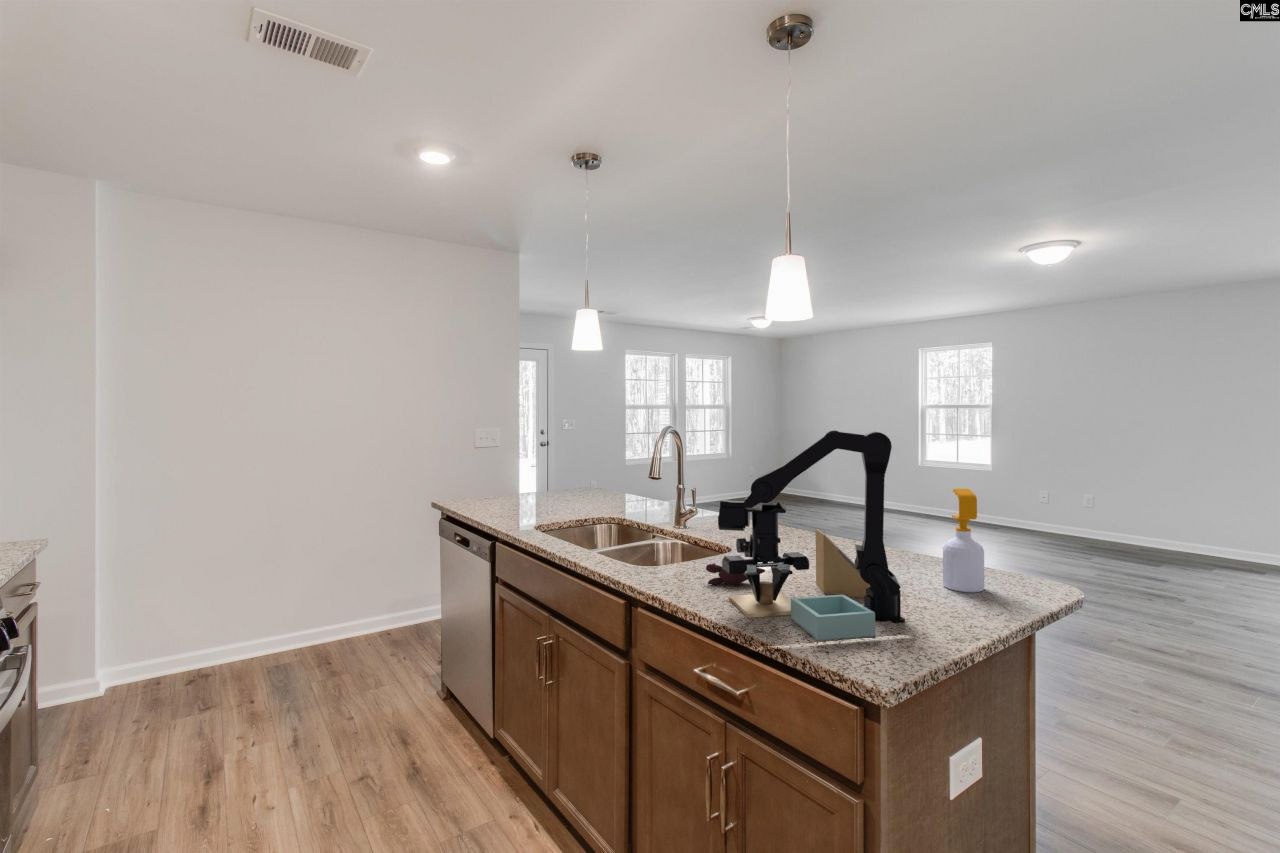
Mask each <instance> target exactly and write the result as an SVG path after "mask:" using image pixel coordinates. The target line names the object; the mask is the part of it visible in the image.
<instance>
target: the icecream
mask: <svg viewBox="0 0 1280 853" xmlns="http://www.w3.org/2000/svg"><path fill="white" fill-rule="evenodd" d="M705 570H706V571H707V572H709V573H711V574H717V573H718V577H713V578H711V579H709V580H708V581H707V585H708V584H712V585H711V586H719V585H718V584H721V585H722V584H723V583H724V584H725V583H726V585H728V586H731V585H737V586H739V585H740V586H741V585H742V583H743V582H745V581H748V578H747V577H746V576H745V575H744V574H729V573H728V572H727V571H725V570H724V569H723V568H722V565H718V564H716V563H709V564H707V565H706V566H705ZM765 572H766V569H765V568H762V567H757V573H759V574H760V575H761V574H763V573H765Z"/></svg>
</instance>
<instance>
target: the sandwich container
mask: <svg viewBox="0 0 1280 853" xmlns="http://www.w3.org/2000/svg"><path fill="white" fill-rule="evenodd" d="M815 585H816V586H817V587H818V588H819V590H820V591H821V592H822V593H823V594H827V595H829V594H831V595H832V594H833V595H845V596H847V597H864V595H866V588H869V587H870V584H868V583H866V582H865V581H864V580H863V579H862V578H861V576H860V572H859V569H858V570H857V569H856V566H855V562H853V560H852V559H851V558H850V557H849V556H847V554H845V552H844V551H843V550H842V549H841V548H840V547H839V546H838V545H837V544H836V543H835V542H834V541H833V540H832V539H831V538H830V537H829V536H827V535H826V534H825V533H824V532H823V531H821V530H820V529H818V528H815Z"/></svg>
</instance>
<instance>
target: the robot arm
mask: <svg viewBox="0 0 1280 853" xmlns="http://www.w3.org/2000/svg"><path fill="white" fill-rule="evenodd" d="M892 447H893V446H892V441H891V439H890V438H889V437H888V436H887V435H886V434H885V433H882V432H879V431H875V430H874V431H869V432H868V433H865V434H860V433H853V432H852V433H851V432H844V431H838V430H835V429H833V430H829V431H827V432H826V433H825V435H823V436H822V437H821V438H820V439H818V440H817V441H815V442H814V443H813V444H811V445H809V446H808V447H807V448H805V449H804V450H802V451H801V452H800V453H798V454H797V455H796V456H794V457H793V458H791V459H790V460H789V461H788V462H786V463H785V464H783V465H781V466H779V467H776V468H775V469H771V470H769V471H768V472H766V473H764V474H761V475H759V476H758V477H757V478H755V480H754V481H753V482H752V484H751V485H750V486H751V487H750V494H749V495H748V496H746V497H745V498H744V501H743V500H742V501H740V500H739V501H738V500H728V499H721V500H720V502H719V510H718V516H717V525H718V530H720V531H734V532H735V531H737V532H745V530H746V527H750V524H751V529H752V531H751V532H752V533H751V534H750V535H749V540H747V538H746V537H742V538H740V537H739V538H736V541H735V546H736V552H737V553H738V554H739V553H740V554H741V553H744V557H745V558H748V559H745V558H743V556H741V555H737V554H736V555H724V556H723V558H722V561H721V567H722V568H723V569H724V570H725V571H727V572H728V573H729V574H744V575H745V576H746V577H747V578H748V580H747V581H748V582H749V585H750V587H751V591H752V594H754V597H755V600H756V601H757V602H759V599H760V582H761V574H759V573H757V568H771V569H770V570H771V573H772V579H771V582H772V583H773V601H776V599H777V597H778V594H779V593H781V589H782V588H783V586H784V584H785V582H786V580H787V579H788V577H789V576H790V575H793V570H791V566H792V567H793V568H794V569H795V570H796V571H806V570H807V571H808V570H810V560H809V558H808V557H807V556H806V555H805V554H802V553H800V552H798V551H794V552H784V553H783V554H782V556H780V555H779V544H781V537H779V514H786V512H787V508H786V507H785V506H784V505H783V504H782V502H781V501H780V500H778V501H777V502H776V503H774V504H772V503H771V502H772V501H774V500H775V499H776V497H777V496H779V495H780V494H781V492H782V491H783V490H784V489H785V488H786V487H787V486H788V485H789V484H790V483H791V482H792V481H793V480H795V479H796V478H797V477H799V476H800V475H801V474H803V473H804V472H805V471H807V470H808V469H810V468H811V467H813V466H814V465H815V464H817V463H818V462H819V461H821V460H822V459H824V458H825V457H826V456H828V455H829V454H831V453H833V452H834V451H835V450H844V451H849V452H856V453H861V458H862V464H863V468H864V469H863V470H864V475H865V477H864V478H865V479H864V482H865V483H864V519H863V520H864V522H863V526H864V528H863V540H862V543H861V545H860V544H855V545H854V547H855V551H856V552H855V553H856V557H855V559H854V563H855V566H856V569H857V570H858V569H859V572H860V576H861V578H862V579H863V580H864V581H865V582H866V583H868V584H870V587H869V588H866V595H864V596H863V606H864V607H866V608H868V609H870V610H871V611H873V612H875V622H879V623H880V622H881V623H883V622H891V623H901V622H902V623H903V622H906V618H905V617H903V616H901V603H902V602H901V601H902V600H901V597H902V596H901V585H900V583H899V581H898V579H897V577H896V575H895V574H894V573H893V572H892V571H891V570H890V569H889V565H888V559H887V553H886V549H885V543H884V522H885V521H884V516H885V512H884V511H885V477H886V472H887V468H888V465H889V461H890V458H891V452H892V449H893V448H892ZM760 503H761V507H755V506H757V505H759V504H760ZM769 503H771V504H769Z"/></svg>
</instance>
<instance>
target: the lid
mask: <svg viewBox="0 0 1280 853" xmlns="http://www.w3.org/2000/svg"><path fill="white" fill-rule="evenodd" d="M728 600H729V602H731V603H732V604H733V605H734V606H735V607H736V608H737V609H738V610H739V611H740V612H741V613H743V614H744V615H745V617H747V618H748V619H750V618H762V617H763V618H765V617H780V616H791V598H790V597H789V596H787V595H786V594H785V593H783V592H779V594H778V597H777V599H776V601H773V583H772V581H768V580H765V581H764V580H763V581H761V580H760V599H759V602H757V601H756V600H755V597H754V594H753V593H751V594H741V595H739V594H737V595H729V596H728Z"/></svg>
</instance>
